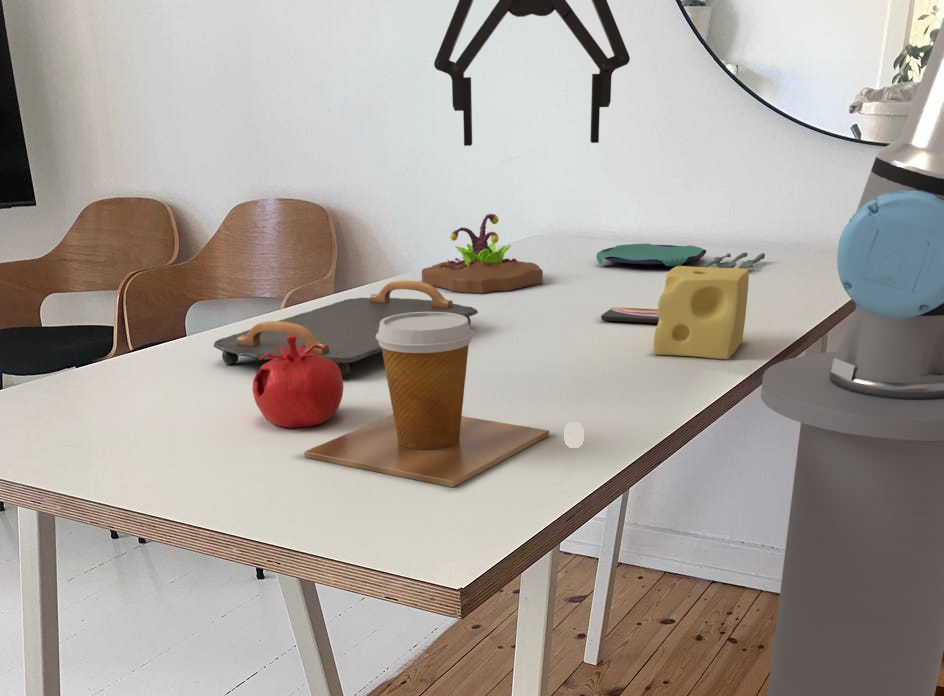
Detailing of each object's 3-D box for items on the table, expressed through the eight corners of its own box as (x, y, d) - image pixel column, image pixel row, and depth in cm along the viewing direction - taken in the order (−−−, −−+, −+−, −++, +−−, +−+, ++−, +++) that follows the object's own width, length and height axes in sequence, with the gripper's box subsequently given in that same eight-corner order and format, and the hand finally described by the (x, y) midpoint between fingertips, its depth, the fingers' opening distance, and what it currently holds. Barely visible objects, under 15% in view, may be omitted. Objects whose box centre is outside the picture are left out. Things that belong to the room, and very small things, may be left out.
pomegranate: (357, 408, 125) (351, 325, 121) (328, 434, 116) (321, 346, 112) (276, 405, 127) (267, 323, 123) (241, 430, 119) (231, 344, 114)
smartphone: (612, 306, 168) (710, 311, 163) (612, 312, 169) (710, 317, 164) (599, 315, 162) (700, 320, 157) (599, 321, 162) (700, 327, 157)
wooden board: (549, 435, 114) (549, 430, 114) (453, 487, 101) (453, 481, 101) (409, 412, 123) (408, 407, 123) (304, 457, 110) (303, 451, 110)
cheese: (652, 355, 144) (657, 276, 139) (670, 337, 153) (675, 262, 148) (732, 361, 140) (740, 280, 136) (746, 342, 149) (754, 265, 144)
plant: (563, 282, 192) (564, 214, 187) (471, 297, 182) (470, 225, 177) (496, 268, 207) (495, 205, 202) (408, 281, 197) (405, 214, 192)
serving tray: (363, 313, 173) (360, 272, 170) (492, 325, 163) (491, 281, 160) (196, 369, 144) (189, 320, 141) (341, 388, 133) (337, 336, 130)
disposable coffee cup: (487, 430, 115) (485, 312, 109) (457, 458, 107) (453, 333, 101) (402, 423, 117) (397, 308, 112) (367, 450, 109) (359, 328, 104)
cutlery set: (622, 252, 220) (622, 240, 219) (770, 261, 207) (771, 248, 206) (581, 268, 205) (581, 255, 204) (738, 278, 192) (739, 264, 191)
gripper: (655, -92, 111) (644, 138, 121) (410, -83, 112) (419, 143, 122) (663, -102, 104) (650, 143, 114) (402, -92, 106) (412, 148, 116)
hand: (531, 143), depth 118 cm, fingers open, 13 cm apart
